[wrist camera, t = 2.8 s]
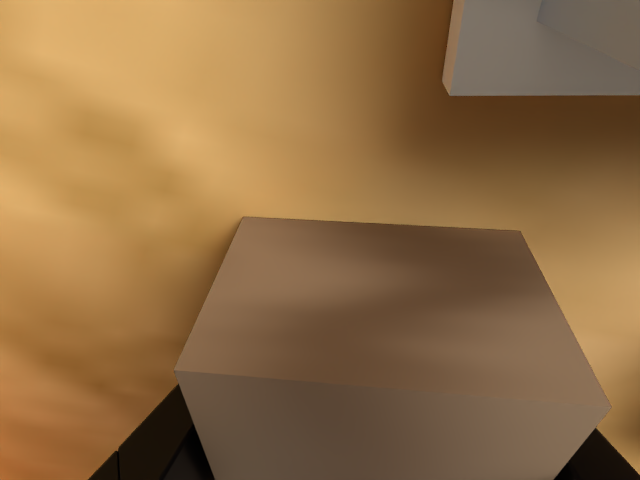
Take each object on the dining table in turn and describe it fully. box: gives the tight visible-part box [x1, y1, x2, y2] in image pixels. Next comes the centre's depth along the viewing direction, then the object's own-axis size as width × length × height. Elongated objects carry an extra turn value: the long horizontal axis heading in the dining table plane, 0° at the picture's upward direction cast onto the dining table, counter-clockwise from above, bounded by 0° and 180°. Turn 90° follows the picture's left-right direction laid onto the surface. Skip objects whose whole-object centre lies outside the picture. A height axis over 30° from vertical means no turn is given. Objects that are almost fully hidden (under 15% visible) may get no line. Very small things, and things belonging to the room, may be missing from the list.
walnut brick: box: [174, 217, 612, 480], centre depth 9 cm, size 6×6×4 cm
